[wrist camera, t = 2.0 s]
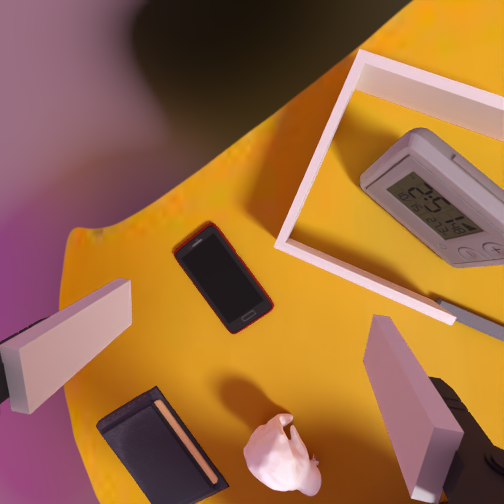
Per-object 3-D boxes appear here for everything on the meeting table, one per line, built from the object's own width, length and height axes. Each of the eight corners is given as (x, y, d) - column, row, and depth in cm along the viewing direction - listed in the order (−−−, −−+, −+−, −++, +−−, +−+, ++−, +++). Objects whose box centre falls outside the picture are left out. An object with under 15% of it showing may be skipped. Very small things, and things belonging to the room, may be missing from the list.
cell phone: (234, 334, 41) (232, 337, 40) (173, 252, 41) (170, 253, 40) (277, 305, 39) (276, 308, 38) (214, 220, 39) (211, 220, 38)
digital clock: (350, 176, 34) (368, 161, 24) (417, 125, 32) (469, 85, 22) (429, 282, 34) (482, 313, 24) (502, 238, 32) (594, 251, 22)
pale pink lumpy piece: (274, 449, 32) (341, 521, 33) (278, 396, 40) (331, 454, 41) (233, 474, 33) (299, 542, 34) (245, 417, 42) (297, 473, 42)
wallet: (88, 428, 46) (155, 388, 43) (96, 419, 48) (161, 380, 45) (156, 527, 47) (229, 496, 43) (162, 515, 48) (232, 484, 45)
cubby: (525, 138, 30) (577, 121, 25) (427, 306, 35) (451, 325, 29) (350, 77, 33) (359, 48, 27) (278, 241, 37) (273, 247, 31)
